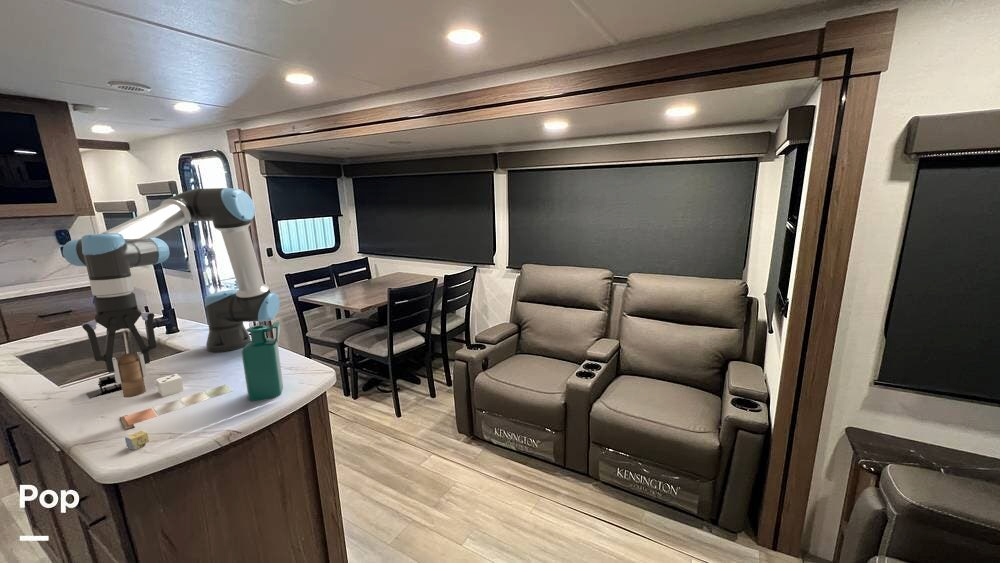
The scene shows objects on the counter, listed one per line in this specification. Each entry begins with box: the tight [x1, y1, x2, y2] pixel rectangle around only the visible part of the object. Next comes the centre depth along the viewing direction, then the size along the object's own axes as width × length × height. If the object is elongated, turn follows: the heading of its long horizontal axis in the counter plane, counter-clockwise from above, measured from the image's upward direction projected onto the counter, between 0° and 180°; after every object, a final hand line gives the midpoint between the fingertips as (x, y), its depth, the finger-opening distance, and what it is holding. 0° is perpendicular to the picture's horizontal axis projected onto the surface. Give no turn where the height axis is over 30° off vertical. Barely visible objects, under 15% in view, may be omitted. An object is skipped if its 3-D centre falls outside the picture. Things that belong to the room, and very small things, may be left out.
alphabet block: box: [124, 430, 150, 451], centre depth 91 cm, size 3×3×3 cm
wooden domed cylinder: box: [117, 352, 147, 398], centre depth 100 cm, size 4×4×11 cm
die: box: [155, 373, 184, 398], centre depth 117 cm, size 5×5×5 cm
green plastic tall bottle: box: [241, 321, 284, 402], centre depth 113 cm, size 10×8×22 cm
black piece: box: [86, 374, 122, 399], centre depth 120 cm, size 13×8×5 cm, turn 143°
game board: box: [119, 384, 234, 431], centre depth 110 cm, size 25×9×1 cm, turn 142°
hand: (131, 378), depth 101 cm, fingers closed on wooden domed cylinder, 4 cm apart
